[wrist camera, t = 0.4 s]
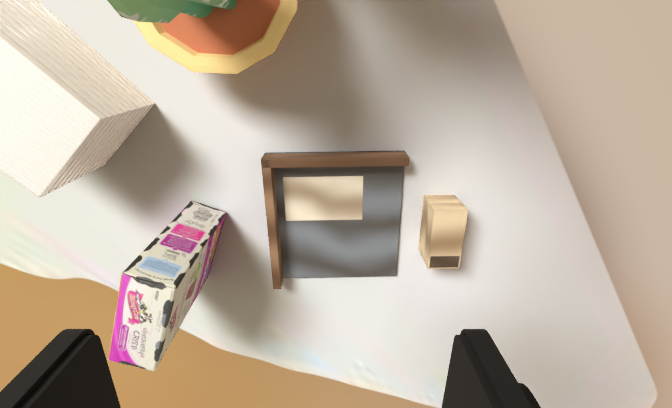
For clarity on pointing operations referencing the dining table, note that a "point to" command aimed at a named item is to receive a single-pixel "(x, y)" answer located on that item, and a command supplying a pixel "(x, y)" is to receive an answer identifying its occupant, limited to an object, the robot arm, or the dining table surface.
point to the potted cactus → (211, 30)
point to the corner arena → (333, 213)
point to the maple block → (442, 231)
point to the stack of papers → (58, 100)
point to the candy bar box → (164, 286)
